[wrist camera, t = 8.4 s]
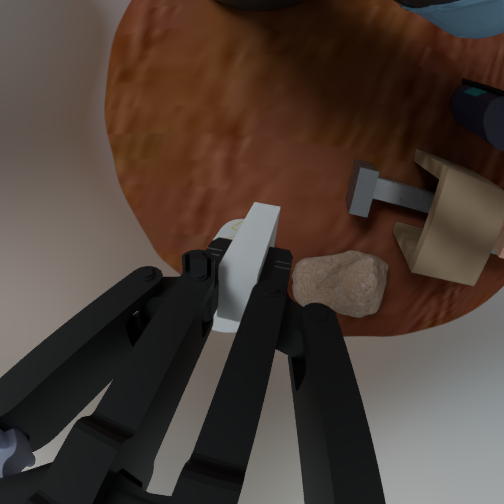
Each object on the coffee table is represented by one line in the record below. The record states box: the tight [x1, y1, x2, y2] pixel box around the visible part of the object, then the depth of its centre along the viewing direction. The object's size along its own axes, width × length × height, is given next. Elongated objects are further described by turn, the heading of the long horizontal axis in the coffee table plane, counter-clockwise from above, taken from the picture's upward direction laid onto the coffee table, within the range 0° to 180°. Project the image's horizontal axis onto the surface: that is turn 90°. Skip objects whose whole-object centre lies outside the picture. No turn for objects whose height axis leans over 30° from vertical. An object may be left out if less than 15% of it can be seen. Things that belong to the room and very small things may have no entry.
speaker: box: [451, 78, 504, 151], centre depth 18 cm, size 8×6×10 cm
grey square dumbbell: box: [346, 159, 435, 217], centre depth 27 cm, size 6×26×5 cm, turn 84°
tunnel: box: [393, 149, 504, 286], centre depth 26 cm, size 11×9×9 cm
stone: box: [292, 250, 389, 318], centre depth 35 cm, size 12×9×10 cm
